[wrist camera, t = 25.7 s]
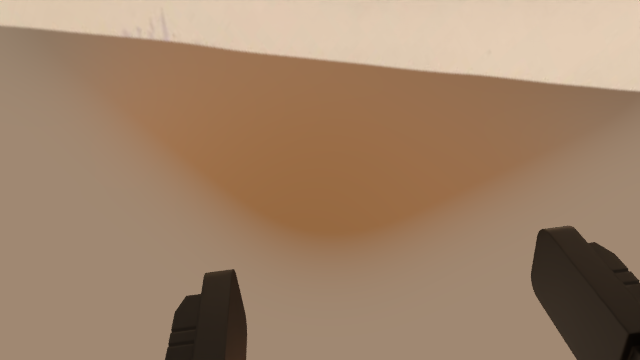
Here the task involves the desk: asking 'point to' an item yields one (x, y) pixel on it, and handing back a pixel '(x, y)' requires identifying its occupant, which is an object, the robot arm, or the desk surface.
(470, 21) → the desk surface
